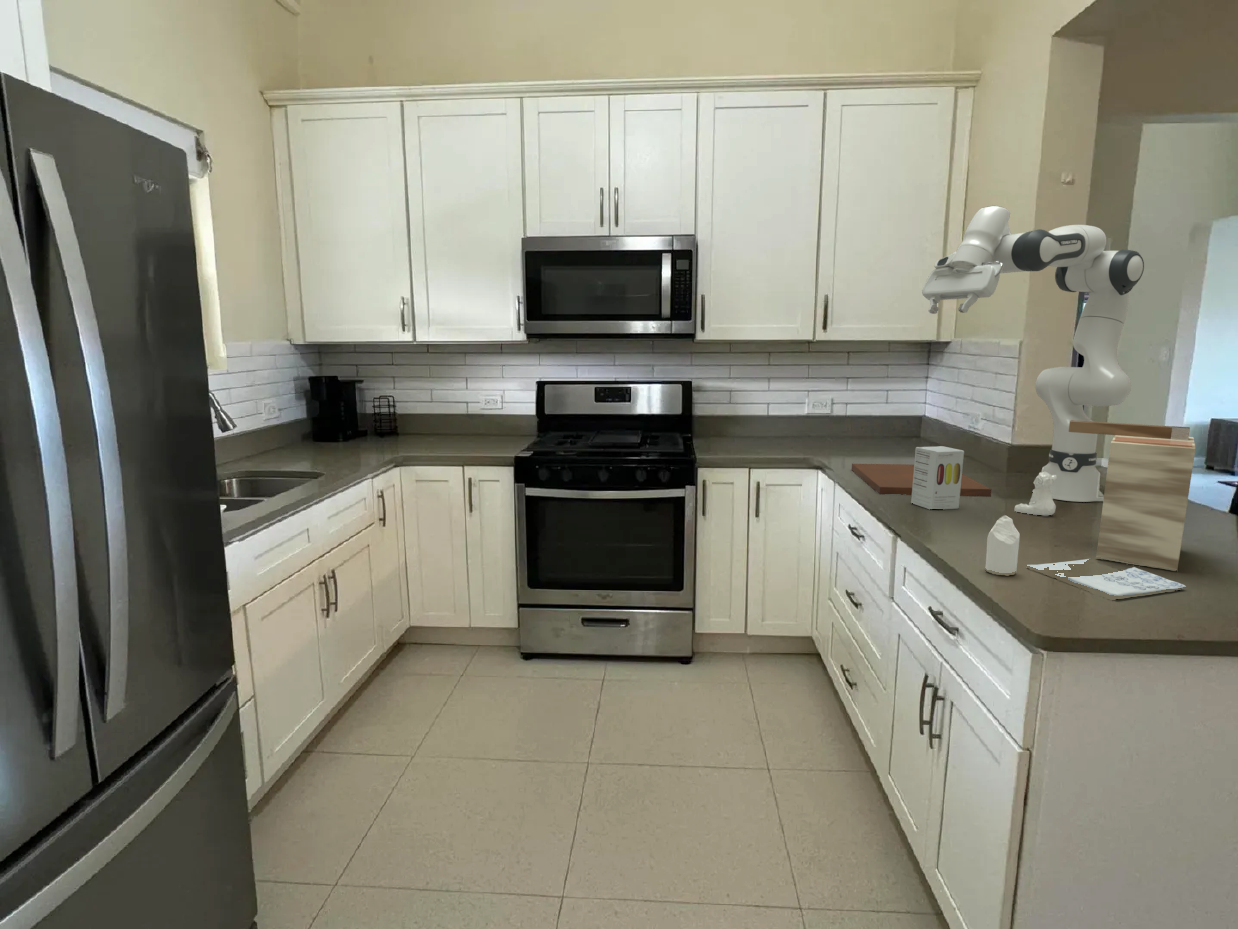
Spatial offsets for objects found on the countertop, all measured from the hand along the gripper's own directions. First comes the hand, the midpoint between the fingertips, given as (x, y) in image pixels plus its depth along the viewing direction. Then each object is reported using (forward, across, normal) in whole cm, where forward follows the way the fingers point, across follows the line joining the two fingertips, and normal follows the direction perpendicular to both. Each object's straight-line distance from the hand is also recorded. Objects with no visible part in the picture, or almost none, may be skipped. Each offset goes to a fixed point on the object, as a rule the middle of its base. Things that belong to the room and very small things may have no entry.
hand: (946, 312), depth 180 cm
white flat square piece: (+52, -51, -20) cm, 75 cm away
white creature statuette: (+34, -10, -52) cm, 63 cm away
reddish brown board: (+34, +36, -54) cm, 73 cm away
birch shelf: (+40, -44, -40) cm, 71 cm away
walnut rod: (+16, -37, -29) cm, 50 cm away
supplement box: (+43, +8, -35) cm, 56 cm away
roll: (+59, -40, -6) cm, 71 cm away
